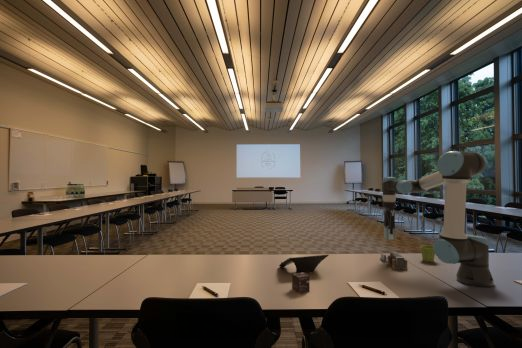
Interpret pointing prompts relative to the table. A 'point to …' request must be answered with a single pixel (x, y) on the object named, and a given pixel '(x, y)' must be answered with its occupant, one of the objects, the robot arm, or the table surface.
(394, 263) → the clip
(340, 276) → the table surface
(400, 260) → the cable bar
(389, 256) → the clip
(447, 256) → the robot arm
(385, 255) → the end holder
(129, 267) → the table surface
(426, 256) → the plant pot
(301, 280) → the box
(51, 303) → the table surface
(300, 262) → the portable electronic device stand
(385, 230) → the connector
